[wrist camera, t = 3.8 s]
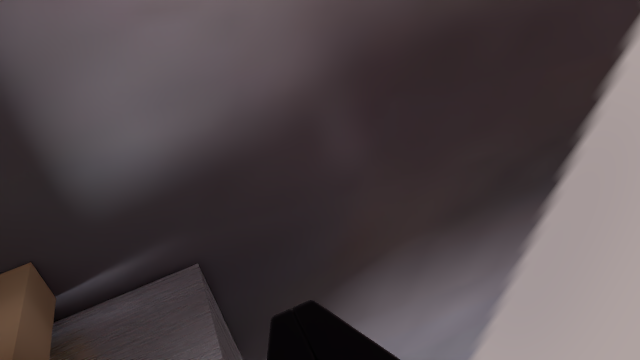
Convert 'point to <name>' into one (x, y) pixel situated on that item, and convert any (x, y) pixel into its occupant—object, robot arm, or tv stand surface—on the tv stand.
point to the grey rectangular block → (149, 325)
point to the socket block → (25, 315)
